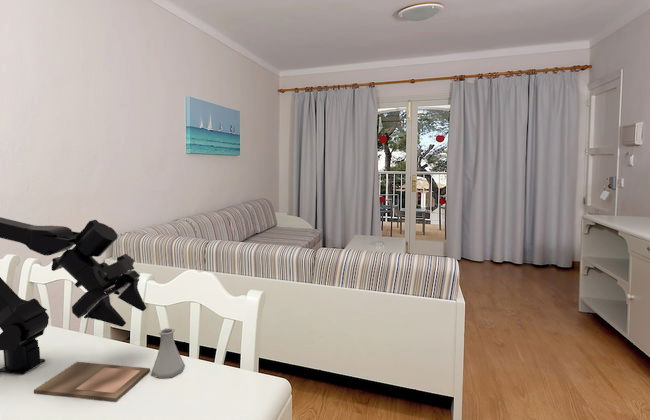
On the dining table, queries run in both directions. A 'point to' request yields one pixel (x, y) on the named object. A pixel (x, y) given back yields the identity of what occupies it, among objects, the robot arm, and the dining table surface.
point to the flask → (167, 356)
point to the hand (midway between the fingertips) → (135, 317)
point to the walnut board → (93, 381)
